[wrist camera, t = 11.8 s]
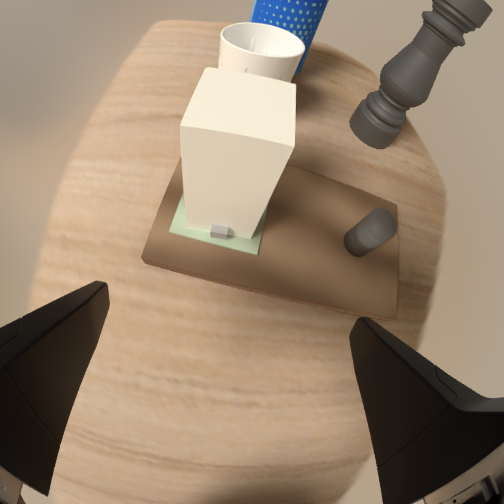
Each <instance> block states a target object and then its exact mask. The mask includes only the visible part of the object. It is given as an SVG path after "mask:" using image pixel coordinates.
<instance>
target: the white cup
mask: <svg viewBox="0 0 504 504" xmlns="http://www.w3.org/2000/svg"><path fill="white" fill-rule="evenodd" d="M304 51H305V45H304V43H303V42H302V41H301V40H300V39H299V38H298V37H297V36H295V35H294V34H292V33H290V32H288V31H286V30H284V29H281V28H278V27H275V26H272V25H267V24H262V23H251V22H246V23H236V24H232V25H229V26H227V27H225V28H224V29H223V30H222V31H221V35H220V48H219V60H218V69H224V70H231V71H237V72H243V73H248V74H254V75H259V76H263V77H268V78H272V79H277V80H281V81H285V82H289V83H291V81H292V78H293V76H294V74H295V71H296V69H297V67H298V65H299V62H300V60H301V58H302V56H303V53H304Z"/></svg>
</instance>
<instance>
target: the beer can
mask: <svg viewBox="0 0 504 504" xmlns="http://www.w3.org/2000/svg"><path fill="white" fill-rule="evenodd" d="M328 1H329V0H254V4H253V8H252V13H251V17H250V21H249V22H251V23H262V24H267V25H272V26H275V27H278V28H281V29H284V30H286V31H288V32H290V33H292V34H294V35H295V36H297V37H298V38H299V39H300V40H301V41H302V42H303V43H304V45H305V51H304V53H303V56H302V58H301V60H300V62H299V65H298V67H297V69H296V71H295V74H294V75H296V74H298V73H299V72H300V70H301V68H302V65H303V63H304V60H305V58H306V55H307V53H308V50H309V48H310V45H311V43H312V40H313V37H314V35H315V32H316V30H317V28H318V25H319V23H320V20H321V18H322V15H323V13H324V11H325V8H326V5H327V3H328Z"/></svg>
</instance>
